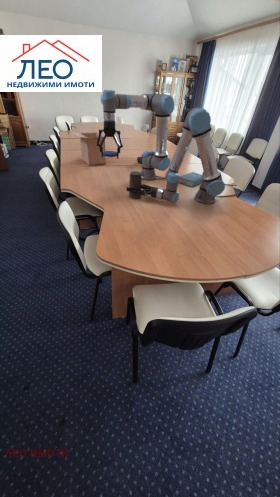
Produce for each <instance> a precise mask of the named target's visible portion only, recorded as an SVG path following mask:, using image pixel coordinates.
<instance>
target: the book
mask: <svg viewBox="0 0 280 497" xmlns="http://www.w3.org/2000/svg"><path fill="white" fill-rule="evenodd" d="M201 179H202V174H201V173H197V172H195V171H192V172H187V173H185V174H181V175H179V180H178V184H182V185H185V186H187V187H190V188H192V187H195V186H197V185H200V183H201Z"/></svg>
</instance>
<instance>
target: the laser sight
mask: <svg viewBox="0 0 280 497" xmlns="http://www.w3.org/2000/svg"><path fill="white" fill-rule="evenodd" d="M142 156H143V153H141V156H137V158H136V161H137V162H136V163H139V164H142Z"/></svg>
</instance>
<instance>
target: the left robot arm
mask: <svg viewBox="0 0 280 497" xmlns="http://www.w3.org/2000/svg"><path fill="white" fill-rule="evenodd" d="M100 103H101V104H102V108H103V109H102V112H103V113H102V114H103V116H102V117H103V118H102V119H103V128H99V129H98V132H99V136H98V141H97V146H99V147H100V152H101V154H102V158H103V147H102V145H103V143H104V141H105V142H106V139H107V138H113V140H114V142H115V145H116V146H117V148H116V152H117V156H116V159H117V160H118V159H120V154H121V149H122V148H124V144H123V139H122V135H121V130H117V126H116V125H117V124H116V118H117V116H116V110H129V109H131V108H133V109H140V110H145V111H148V112H152V113H154V117H155V118H156V136H155V138H156V141H155V150H144V151H143V152H142V154H143V156H142V155H141V157H142V163H141V169H140V172H141V173H142V180H146V181H154V180H156V178H159V179H163V180H166V177H161V176H158V175H157V174H156V170H158V171H161V172H166V171H167V170H168V169H169V166H170V163H171V158H170V157H169V153H168V151H167V148H168V147H167V146H168V128H169V119H170V117H171V115H172V114H173V112H174V110H175V106H176V105H175V104H176V103H175V100H174V98H173V96H171V94H167V93H155V92H154V93H141V94H126V93H116V91H115V90H113V89H103V90H102V94H101V96H100ZM102 132H104V133H105V136H104V138H103V140H102V142H101V144H99V143H100V138H101V133H102ZM116 134H117V136H118V138H117V137H116ZM118 139H119V141H118ZM224 184H225V186H233V187H238V186H237V184H229V183H224Z"/></svg>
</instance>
